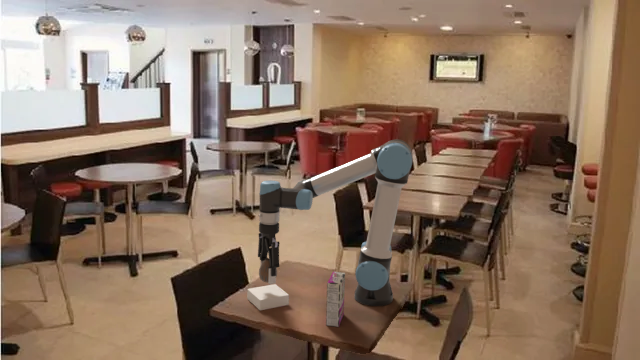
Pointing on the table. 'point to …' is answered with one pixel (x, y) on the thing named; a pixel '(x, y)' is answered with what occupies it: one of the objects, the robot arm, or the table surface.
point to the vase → (265, 271)
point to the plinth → (267, 297)
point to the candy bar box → (335, 299)
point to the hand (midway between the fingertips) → (267, 280)
